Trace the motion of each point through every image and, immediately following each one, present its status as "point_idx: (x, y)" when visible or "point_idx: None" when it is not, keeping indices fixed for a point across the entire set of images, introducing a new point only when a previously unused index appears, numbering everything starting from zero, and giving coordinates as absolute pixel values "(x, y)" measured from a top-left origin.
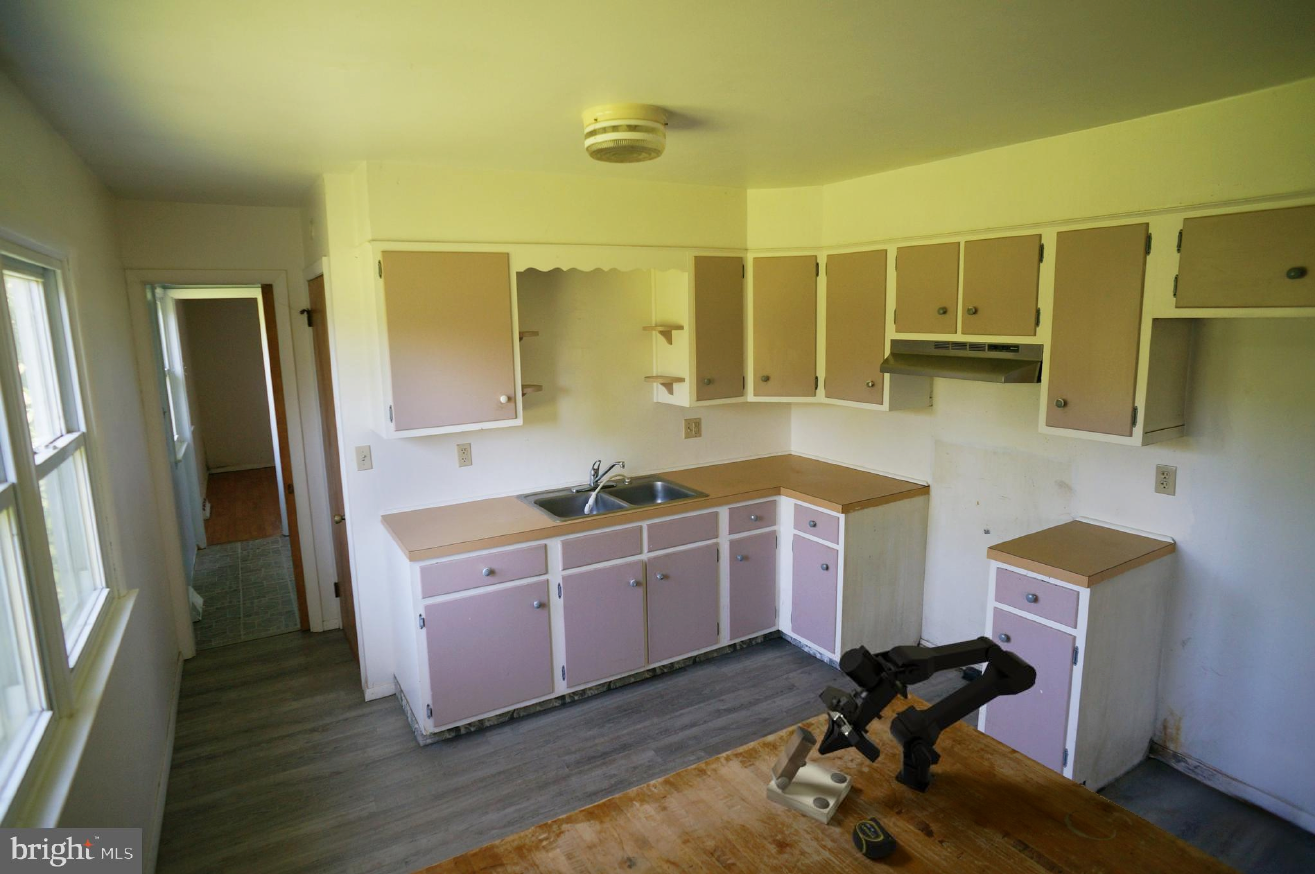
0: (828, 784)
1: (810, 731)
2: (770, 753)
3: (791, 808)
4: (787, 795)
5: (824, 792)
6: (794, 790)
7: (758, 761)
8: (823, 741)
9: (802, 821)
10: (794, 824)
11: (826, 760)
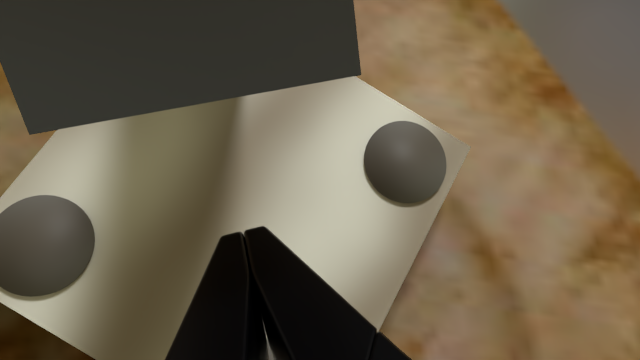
0: None
1: (354, 60)
2: (504, 70)
3: None
4: None
5: (144, 279)
6: None
7: (442, 14)
8: (287, 296)
9: (29, 151)
10: (10, 111)
11: (500, 334)
